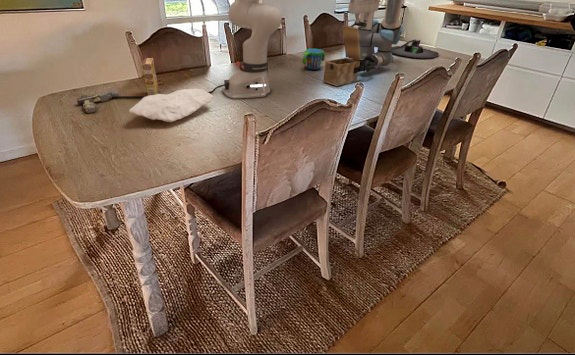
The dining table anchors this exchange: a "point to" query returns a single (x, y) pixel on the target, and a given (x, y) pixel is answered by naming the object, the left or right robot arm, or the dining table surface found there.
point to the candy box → (150, 76)
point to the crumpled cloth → (171, 104)
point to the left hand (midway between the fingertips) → (361, 22)
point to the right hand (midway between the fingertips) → (347, 68)
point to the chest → (340, 71)
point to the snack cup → (313, 58)
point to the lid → (352, 40)
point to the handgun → (95, 100)
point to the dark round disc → (414, 51)
